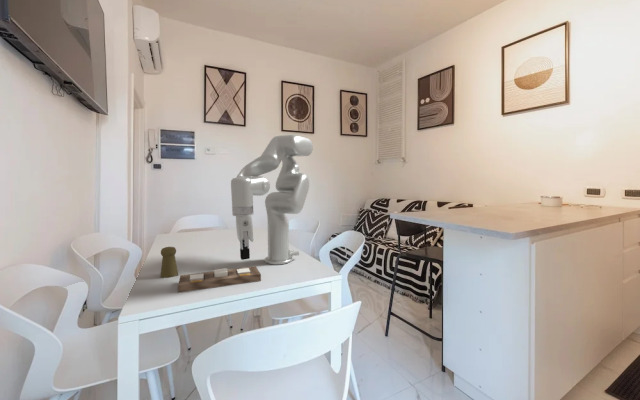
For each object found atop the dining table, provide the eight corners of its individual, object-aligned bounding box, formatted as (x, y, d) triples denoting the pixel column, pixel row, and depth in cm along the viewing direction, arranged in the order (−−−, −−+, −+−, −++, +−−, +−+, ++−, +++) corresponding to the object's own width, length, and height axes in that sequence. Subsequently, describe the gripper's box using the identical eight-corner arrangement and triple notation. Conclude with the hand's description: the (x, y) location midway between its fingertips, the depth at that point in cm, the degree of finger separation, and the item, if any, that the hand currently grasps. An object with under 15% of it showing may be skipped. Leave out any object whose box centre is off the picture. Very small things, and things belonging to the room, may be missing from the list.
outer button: (203, 280, 99) (203, 273, 99) (203, 284, 95) (203, 277, 95) (190, 281, 97) (190, 274, 97) (189, 286, 93) (189, 279, 93)
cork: (160, 274, 107) (159, 246, 106) (177, 271, 110) (176, 244, 109) (160, 278, 102) (159, 249, 101) (178, 276, 105) (177, 248, 104)
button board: (255, 272, 109) (255, 265, 109) (260, 280, 100) (260, 273, 100) (180, 282, 98) (180, 274, 98) (178, 292, 89) (178, 284, 89)
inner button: (248, 274, 105) (248, 267, 105) (250, 277, 101) (250, 271, 101) (236, 275, 103) (236, 269, 103) (238, 279, 99) (238, 272, 99)
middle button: (226, 274, 102) (226, 268, 102) (227, 278, 98) (227, 271, 98) (214, 276, 100) (214, 269, 100) (214, 280, 96) (214, 273, 96)
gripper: (256, 212, 96) (259, 263, 98) (249, 207, 109) (251, 252, 111) (234, 214, 93) (237, 266, 95) (230, 209, 106) (232, 254, 108)
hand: (245, 258), depth 103 cm, fingers closed
